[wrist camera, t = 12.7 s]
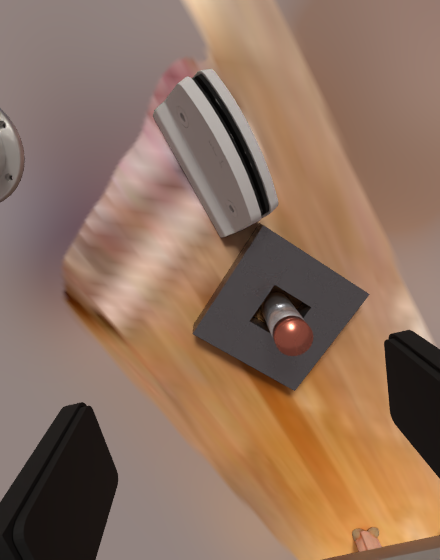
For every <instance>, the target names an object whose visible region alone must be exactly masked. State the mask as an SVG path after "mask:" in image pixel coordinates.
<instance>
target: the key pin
mask: <svg viewBox="0 0 440 560" xmlns="http://www.w3.org/2000/svg"><path fill="white" fill-rule="evenodd" d="M260 309H261V312H262V314H263V317H264V319H265V321H266V323H267V326H268V328H269V330H270V333H271V335H272V337H273V339H274V342H275V344H276V346H277V348H278V349H279V351H280V352H282V353H283V354H285V355H288V356H298V355H301V354H303V353H305V352H306V351H307V350H308V349H309V348H310V347H311V345H312V342H313V332H312V330H311V328H310V327H309V326H308V324H307V323H306V322H305V320H304V319H303V318H302V316H301V315H300V314H299V312H298V311H297V310H296V308H295V307H294V306H293V304H292V303H291V302H290V300H289V299H288V298H287V296H286V295H284V294H283V293H280V292H272V293H269V294H268V295H267V297H266V298H265V299H264V301H263V302H262V304H261V305H260Z"/></svg>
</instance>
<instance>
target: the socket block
mask: <svg viewBox="0 0 440 560" xmlns="http://www.w3.org/2000/svg"><path fill="white" fill-rule="evenodd" d="M274 285H276V286H278V287H279V288H281V289H282V290H284V291H286V292H287V293H289V294H291V295H292V296H294V297H295V298H297V299H299V300H300V301H302V304H301V305H300V307H299V308H298V309H297V311H298V312H299V314H300V315H301V316H302V318H303V319H304V320H305V322H306V323H307V324H308V326H309V327H310V328H311V330H312V332H313V342H312V345H311V347H310V348H309V349H308V350H307V351H306V352H305V353H303V354H301V355H298V356H288V355H285V354H283V353H282V352H280V351H279V349H278V348H277V346H276V344H275V342H274V339H273V337H272V335H271V333H270V330H269V328H268V326H267V324H265V323H264V322H262V321H260V320H258V319H257V318H255V317H253V315H254V314H255V312H256V311H257V310H258V308H259V307H260V305H261V304H262V302H263V301H264V299H265V298H266V297H267V295H268V294H269V292H270V291H271V289H272V288H273V286H274ZM368 296H369V294H368V293H367V292H365V291H364V290H362V289H361V288H359V287H357V286H356V285H354V284H353V283H351V282H350V281H348V280H347V279H345V278H344V277H342V276H341V275H339V274H337V273H336V272H334V271H333V270H331V269H330V268H328V267H327V266H325V265H324V264H322V263H321V262H319V261H317V260H316V259H314V258H313V257H311V256H310V255H308V254H307V253H305V252H304V251H302V250H301V249H299V248H297V247H296V246H294V245H293V244H291V243H290V242H288V241H287V240H285V239H284V238H282V237H281V236H279V235H277V234H276V233H274V232H273V231H271V230H270V229H268V228H267V227H265V226H264V225H262V224H260V223H259V225H258V226H257V228H256V229H255V231H254V232H253V234H252V236H251V237H250V239H249V240H248V242H247V243H246V245H245V246H244V248H243V249H242V251H241V252H240V254H239V256H238V257H237V259H236V260H235V262H234V263H233V265H232V266H231V268H230V269H229V271H228V272H227V274H226V276H225V277H224V279H223V280H222V282H221V283H220V285H219V286H218V288H217V289H216V291H215V292H214V294H213V296H212V297H211V299H210V300H209V302H208V303H207V305H206V306H205V308H204V309H203V311H202V312H201V314H200V316H199V317H198V319H197V320H196V322H195V323H194V326H193V334H194V335H195V336H197V337H199V338H201V339H203V340H204V341H206V342H208V343H210V344H212V345H213V346H215V347H217V348H219V349H221V350H222V351H224V352H226V353H228V354H229V355H231V356H233V357H235V358H237V359H238V360H240V361H242V362H244V363H246V364H247V365H249V366H251V367H253V368H255V369H256V370H258V371H260V372H262V373H264V374H265V375H267V376H269V377H271V378H273V379H274V380H276V381H278V382H280V383H282V384H283V385H285V386H287V387H289V388H291V389H292V390H294V391H295V390H296V389H297V387H298V386H299V385H300V384H301V382H302V381H303V380H304V378H305V377H306V376H307V374H308V373H309V372H310V371H311V369H312V368H313V367H314V365H315V364H316V363H317V362H318V360H319V359H320V358H321V356H322V355H323V354H324V353H325V351H326V350H327V349H328V347H329V346H330V345H331V343H332V342H333V341H334V340H335V338H336V337H337V336H338V334H339V333H340V332H341V331H342V329H343V328H344V327H345V325H346V324H347V323H348V322H349V320H350V319H351V318H352V316H353V315H354V314H355V312H356V311H357V310H358V309H359V307H360V306H361V305H362V303H363V302H364V301H365V300H366V298H367V297H368Z"/></svg>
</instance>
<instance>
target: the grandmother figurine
mask: <svg viewBox="0 0 440 560" xmlns="http://www.w3.org/2000/svg"><path fill="white" fill-rule="evenodd" d="M352 535H353V539H354V541H355V542H356V545H357V547H358V550H359V552H361V551H366V550H371V549H375V548H380V547H381V544H380V542H379V540H378V539H377V537H378V535H379V530H378V529H377V528H374V527H372V528H370V529H368V531H363V530H362V529H355V530H354V531H353V532H352Z"/></svg>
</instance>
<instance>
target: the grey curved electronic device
mask: <svg viewBox="0 0 440 560" xmlns="http://www.w3.org/2000/svg"><path fill="white" fill-rule="evenodd" d="M153 117H154V119H155V121H156V123H157V124H158V126H159V128H160V130H161V132H162V133H163V135H164V137H165V139H166V141H167V142H168V144H169V146H170V148H171V150H172V151H173V153H174V155H175V157H176V159H177V160H178V162H179V164H180V166H181V167H182V169H183V171H184V173H185V175H186V176H187V178H188V180H189V182H190V184H191V185H192V187H193V189H194V191H195V193H196V194H197V196H198V198H199V200H200V202H201V203H202V205H203V207H204V209H205V211H206V212H207V214H208V216H209V218H210V220H211V221H212V223H213V225H214V227H215V229H216V230H217V232H218V234H219V236H220V237H226V236H228V235H231V234H233V233H236V232H239V231H241V230H243V229H245V228H247V227H248V226H250V225H252V224H254V223H256V222H257V221H259V220H260V219H261V218H263V217H265V216H267V215H269V214H270V213H271V212H272V211H273V210H274V209H275V208H276V207H277V206H278V199H277V195H276V191H275V188H274V184H273V181H272V178H271V175H270V172H269V170H268V167H267V164H266V162H265V159H264V156H263V154H262V152H261V149H260V147H259V145H258V143H257V141H256V138H255V136H254V134H253V132H252V130H251V128H250V126H249V124H248V122H247V120H246V119H245V117H244V115H243V113H242V112H241V110H240V108H239V106H238V105H237V103H236V101H235V100H234V98H233V97H232V95H231V93H230V92H229V90H228V89H227V88H226V86H225V85H224V83H223V82H222V81H221V79H220V78H219V77H218V75H217V74H216V73H215V71H213V70H212V69H208V70H201V71H198V72H197V73H196V75H195V76H194V77H193V78H190V77H186V78H184V79H183V80H182V81H180V82H179V83H178V84H177V85H176V86H175V88H174V89H173V90H172V92H171V93H170V94H169V96H168V97H167V98H166V100H165V101H164V102H163V103H162V104H161V105H160V106H158V107H157V108H156V109H155V110H154V113H153Z"/></svg>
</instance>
